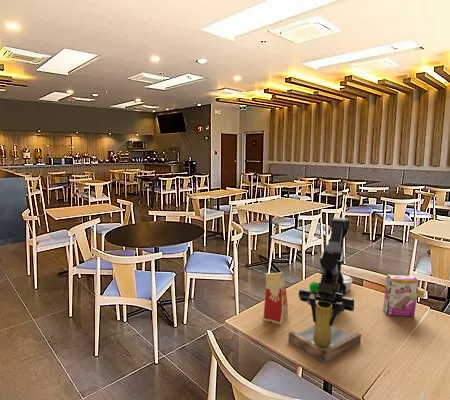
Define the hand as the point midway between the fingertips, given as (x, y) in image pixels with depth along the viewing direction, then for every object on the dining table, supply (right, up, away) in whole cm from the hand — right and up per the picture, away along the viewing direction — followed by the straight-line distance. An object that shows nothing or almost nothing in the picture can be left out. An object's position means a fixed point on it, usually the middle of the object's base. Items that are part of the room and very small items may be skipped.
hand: (322, 323), depth 114 cm
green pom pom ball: (+10, -2, +46) cm, 48 cm away
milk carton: (-13, -6, +24) cm, 28 cm away
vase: (+1, -7, +3) cm, 8 cm away
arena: (+3, -9, +7) cm, 11 cm away
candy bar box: (+40, -6, +26) cm, 48 cm away
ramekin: (+23, -1, +51) cm, 56 cm away
